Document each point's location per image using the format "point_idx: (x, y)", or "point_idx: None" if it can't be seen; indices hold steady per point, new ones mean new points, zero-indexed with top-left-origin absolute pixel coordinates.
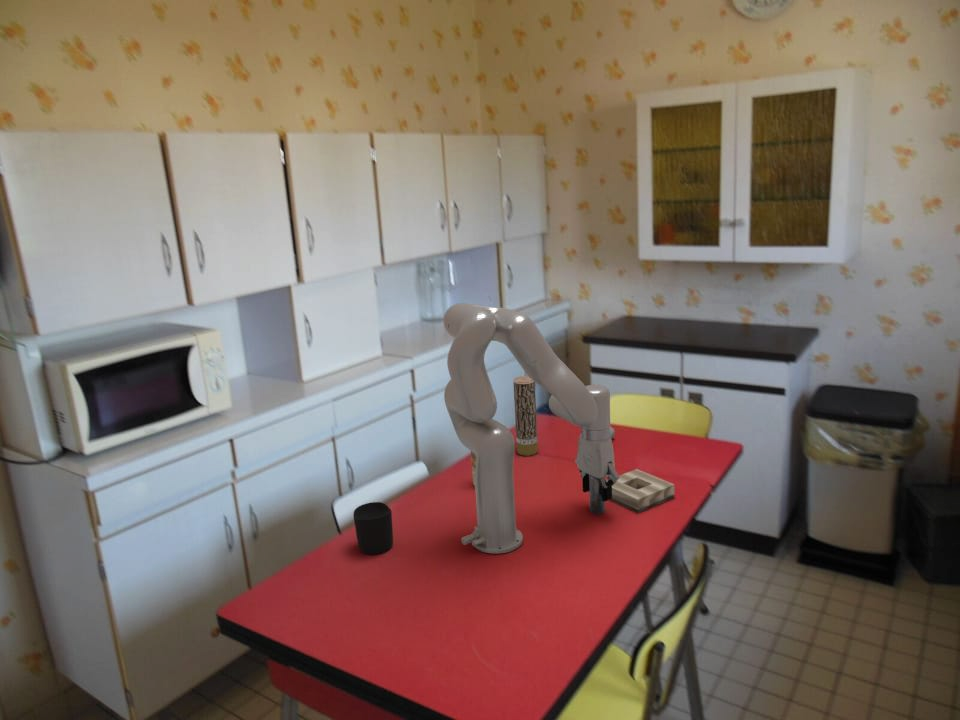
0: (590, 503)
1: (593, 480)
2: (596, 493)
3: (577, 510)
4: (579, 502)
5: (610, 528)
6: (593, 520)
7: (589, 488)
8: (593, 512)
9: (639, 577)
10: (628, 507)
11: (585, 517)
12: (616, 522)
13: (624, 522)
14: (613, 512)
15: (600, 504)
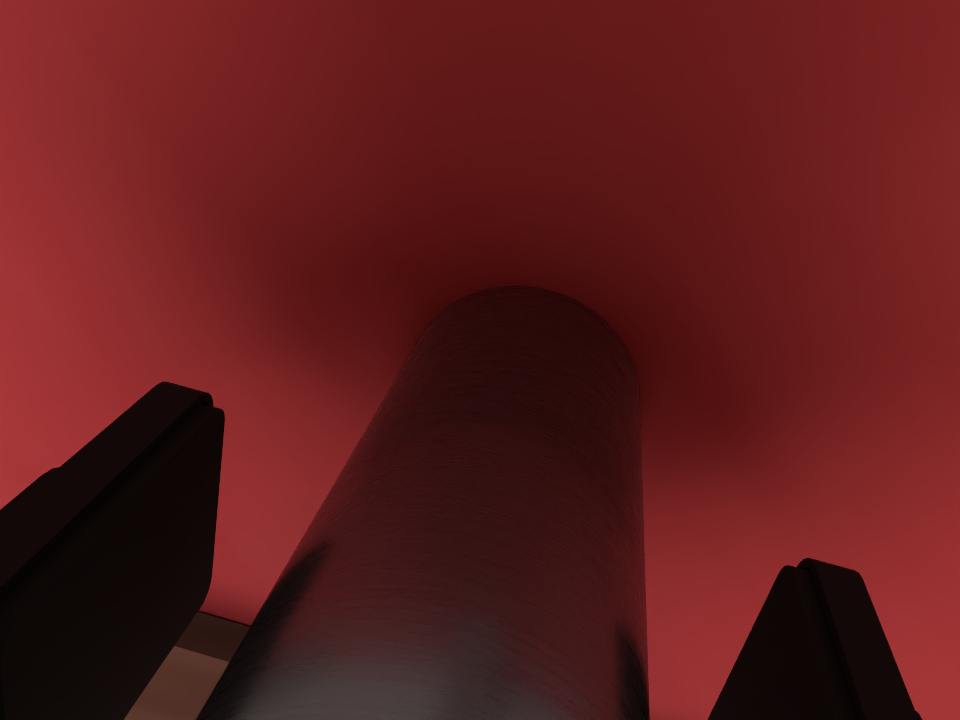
0: (575, 375)
1: None
2: (344, 512)
3: (823, 242)
4: (930, 493)
5: (11, 19)
6: (380, 88)
7: (598, 613)
8: (512, 293)
9: None
10: (230, 637)
11: (555, 99)
12: (90, 243)
13: (22, 304)
14: (315, 468)
15: (375, 415)
